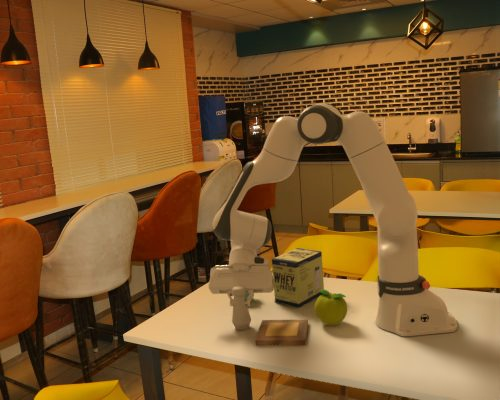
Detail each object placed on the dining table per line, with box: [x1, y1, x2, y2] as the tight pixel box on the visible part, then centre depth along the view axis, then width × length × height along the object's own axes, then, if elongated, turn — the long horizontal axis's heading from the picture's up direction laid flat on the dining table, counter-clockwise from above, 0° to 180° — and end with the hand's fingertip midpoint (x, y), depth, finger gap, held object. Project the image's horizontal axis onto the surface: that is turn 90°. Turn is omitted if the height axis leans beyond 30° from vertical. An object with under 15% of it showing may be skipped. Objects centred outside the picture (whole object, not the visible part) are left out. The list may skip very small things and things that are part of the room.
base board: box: [254, 318, 309, 346], centre depth 150 cm, size 14×14×2 cm
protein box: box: [271, 247, 325, 309], centre depth 176 cm, size 10×16×16 cm
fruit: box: [314, 288, 348, 327], centre depth 153 cm, size 9×9×10 cm
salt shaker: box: [231, 286, 252, 331], centre depth 156 cm, size 6×6×13 cm
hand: (239, 305), depth 155 cm, fingers closed on salt shaker, 3 cm apart
